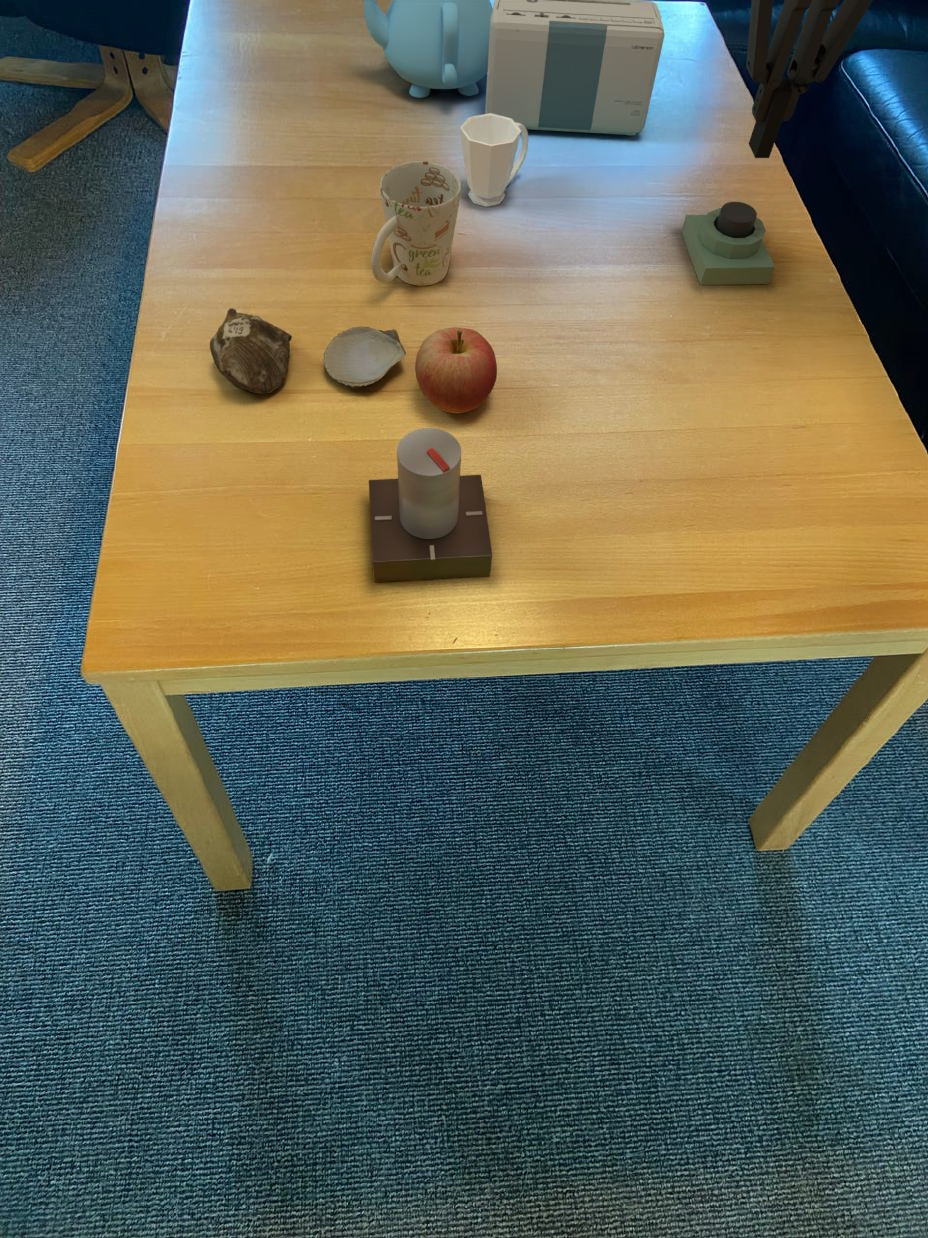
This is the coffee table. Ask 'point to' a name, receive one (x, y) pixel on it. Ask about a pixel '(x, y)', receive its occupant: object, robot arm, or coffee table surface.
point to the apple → (456, 369)
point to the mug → (417, 222)
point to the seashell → (362, 355)
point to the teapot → (434, 41)
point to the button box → (726, 252)
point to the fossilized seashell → (251, 352)
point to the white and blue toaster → (574, 63)
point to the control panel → (429, 557)
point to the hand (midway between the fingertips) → (758, 150)
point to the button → (736, 219)
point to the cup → (491, 155)
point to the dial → (429, 482)
